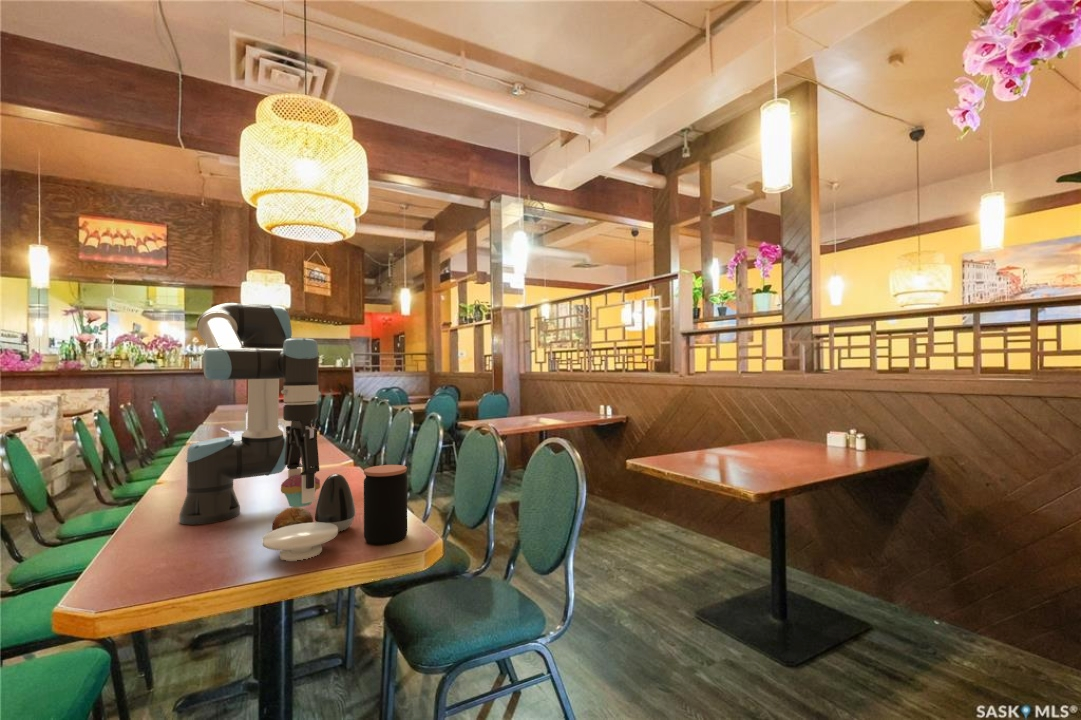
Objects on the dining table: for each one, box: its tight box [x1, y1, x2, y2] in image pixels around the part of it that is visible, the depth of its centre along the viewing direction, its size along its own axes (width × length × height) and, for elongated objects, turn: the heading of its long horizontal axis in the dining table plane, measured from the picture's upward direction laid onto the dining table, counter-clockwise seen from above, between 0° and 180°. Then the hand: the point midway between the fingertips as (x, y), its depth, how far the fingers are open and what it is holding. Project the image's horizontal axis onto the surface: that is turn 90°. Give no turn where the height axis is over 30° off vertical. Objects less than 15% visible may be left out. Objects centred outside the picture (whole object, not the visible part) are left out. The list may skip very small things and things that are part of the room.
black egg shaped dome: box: [314, 473, 356, 533], centre depth 134 cm, size 10×10×15 cm
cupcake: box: [280, 466, 321, 508], centre depth 116 cm, size 9×8×12 cm
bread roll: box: [271, 507, 314, 531], centre depth 135 cm, size 10×10×8 cm
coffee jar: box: [363, 464, 408, 546], centre depth 126 cm, size 11×11×18 cm
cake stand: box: [262, 521, 339, 562], centre depth 116 cm, size 16×16×5 cm
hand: (301, 498), depth 116 cm, fingers closed on cupcake, 8 cm apart
